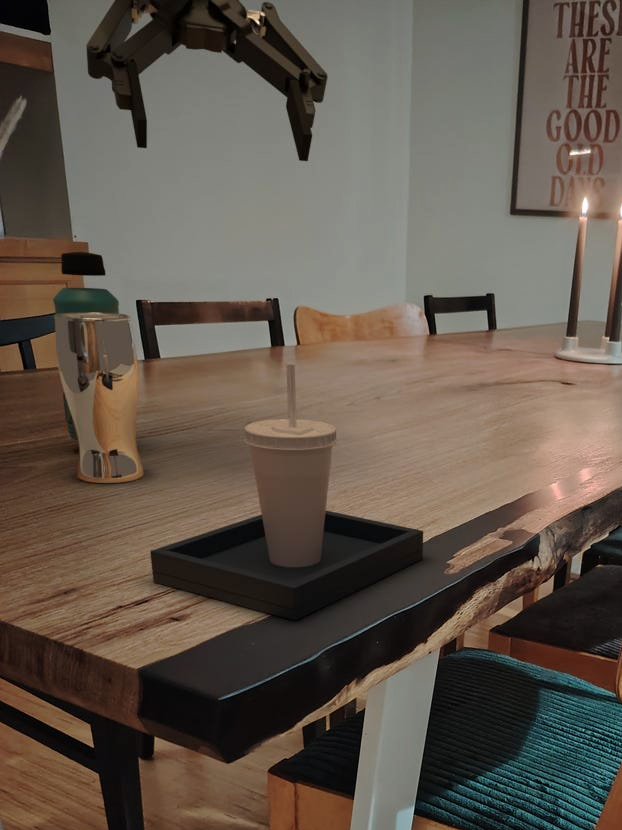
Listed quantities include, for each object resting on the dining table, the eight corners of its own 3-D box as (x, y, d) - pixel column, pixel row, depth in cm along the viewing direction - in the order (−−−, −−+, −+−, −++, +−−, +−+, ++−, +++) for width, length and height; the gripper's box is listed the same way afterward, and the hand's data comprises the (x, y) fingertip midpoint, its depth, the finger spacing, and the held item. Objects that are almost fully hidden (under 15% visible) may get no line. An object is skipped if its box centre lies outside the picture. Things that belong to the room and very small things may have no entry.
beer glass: (153, 468, 95) (138, 313, 89) (142, 484, 88) (126, 319, 82) (81, 467, 93) (61, 310, 87) (65, 484, 87) (42, 317, 81)
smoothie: (260, 577, 64) (250, 369, 59) (242, 549, 70) (231, 357, 64) (349, 568, 67) (347, 369, 61) (325, 542, 72) (322, 356, 67)
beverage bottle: (60, 447, 101) (34, 249, 93) (120, 441, 105) (99, 251, 97) (84, 459, 97) (58, 252, 89) (145, 452, 101) (126, 254, 93)
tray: (295, 621, 59) (294, 587, 59) (153, 582, 65) (149, 550, 64) (422, 558, 72) (423, 530, 71) (295, 530, 77) (294, 503, 77)
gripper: (315, 25, 93) (359, 187, 86) (44, -13, 83) (70, 166, 77) (328, -52, 86) (377, 117, 80) (35, -102, 77) (63, 85, 70)
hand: (226, 141), depth 78 cm, fingers open, 13 cm apart
